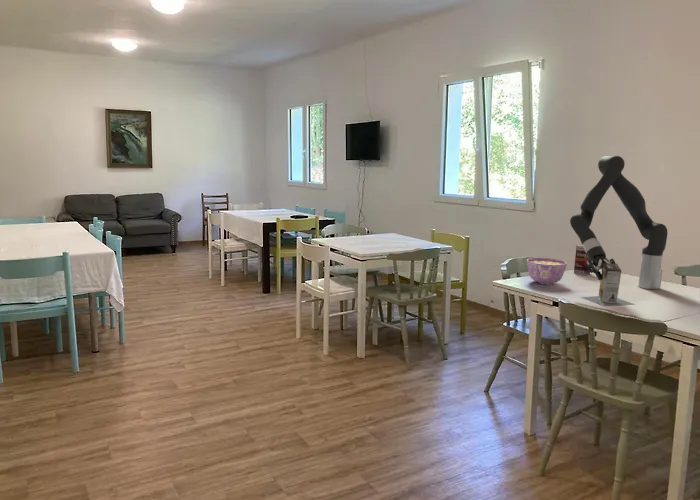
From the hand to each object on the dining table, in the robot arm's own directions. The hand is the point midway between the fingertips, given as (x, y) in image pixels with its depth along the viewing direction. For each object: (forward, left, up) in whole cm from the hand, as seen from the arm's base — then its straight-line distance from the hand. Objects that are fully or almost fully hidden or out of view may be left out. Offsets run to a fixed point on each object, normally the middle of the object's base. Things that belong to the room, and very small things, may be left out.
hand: (608, 278), depth 256 cm
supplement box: (-28, -53, -10) cm, 61 cm away
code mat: (0, +1, -10) cm, 10 cm away
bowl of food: (+7, -37, -10) cm, 40 cm away
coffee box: (0, +1, -10) cm, 10 cm away
